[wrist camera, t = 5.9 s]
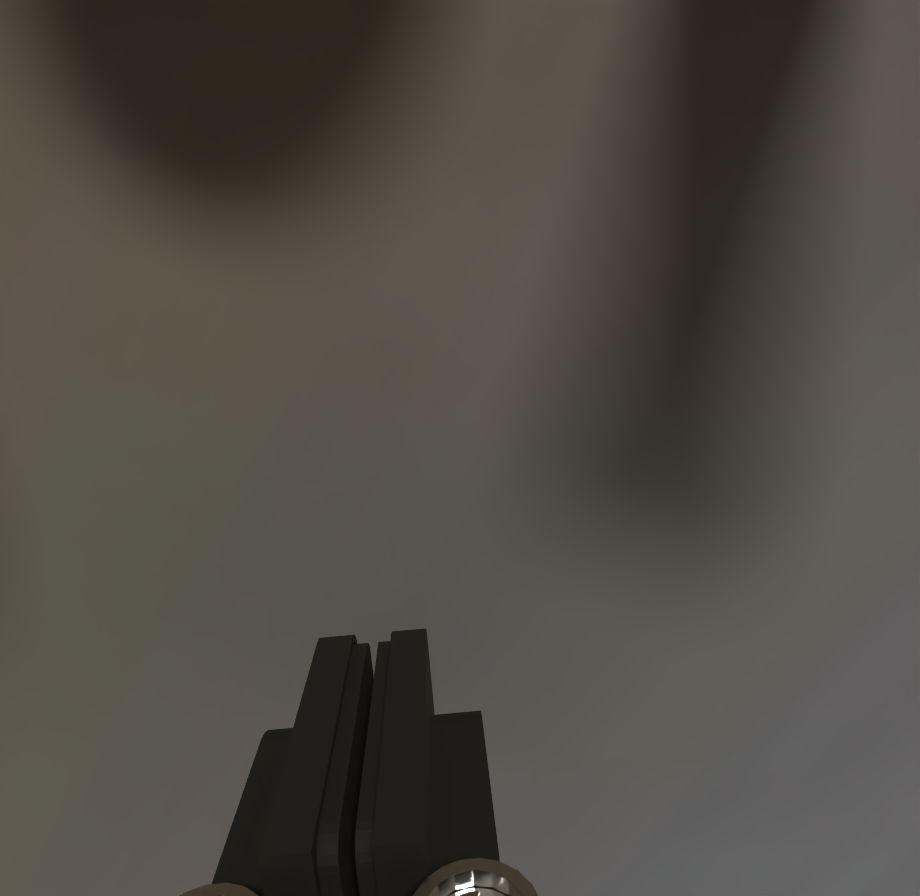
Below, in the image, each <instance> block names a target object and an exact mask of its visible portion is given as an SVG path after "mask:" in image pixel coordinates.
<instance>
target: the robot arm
mask: <svg viewBox="0 0 920 896" xmlns="http://www.w3.org/2000/svg"><path fill="white" fill-rule="evenodd" d="M180 896H538V895H537V893H536V891H535V889H534V887H533V885H532V884H531V883H530V882H529V881H528V880H527V879H526V878H525V877H524V876H523V875H522V874H521V873H520V872H519V871H518V870H516V869H514V868H512V867H510V866H508V865H506V864H504V863H502V862H500V860H499V851H498V843H497V835H496V827H495V819H494V811H493V803H492V795H491V787H490V779H489V771H488V762H487V754H486V746H485V738H484V730H483V722H482V715H481V711H473V712H462V713H451V714H440V715H434V705H433V694H432V683H431V673H430V662H429V651H428V640H427V632H426V629H416V630H404V631H393V632H392V633H391V641H386V642H379V643H378V650H377V658H376V666H375V674H374V677H373V669H372V660H371V652H370V646H369V644H368V643H363V644H357V640H356V637H355V635H347V636H335V637H324V638H319V640H318V642H317V646H316V649H315V653H314V656H313V660H312V663H311V667H310V670H309V674H308V678H307V681H306V685H305V688H304V692H303V695H302V699H301V702H300V706H299V709H298V713H297V716H296V720H295V723H294V727H293V728H287V729H276V730H268V731H266V732H265V733H264V735H263V737H262V739H261V742H260V744H259V747H258V750H257V753H256V756H255V759H254V762H253V765H252V768H251V771H250V774H249V777H248V779H247V782H246V785H245V788H244V791H243V794H242V797H241V800H240V803H239V806H238V809H237V811H236V814H235V817H234V820H233V823H232V826H231V829H230V832H229V835H228V838H227V841H226V844H225V846H224V849H223V852H222V855H221V858H220V861H219V864H218V867H217V870H216V873H215V876H214V878H213V881H212V884H209V885H204V886H202V887H199V888H196V889H193V890H190V891H188V892H185V893H183V894H182V895H180Z"/></svg>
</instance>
